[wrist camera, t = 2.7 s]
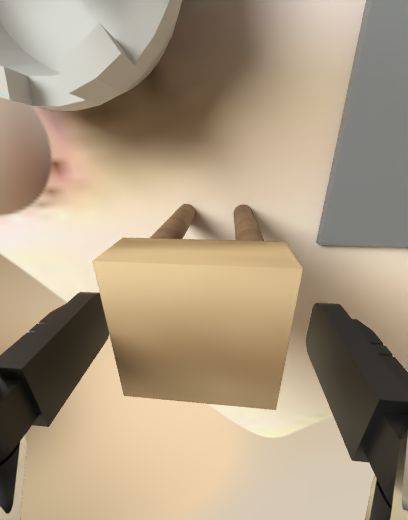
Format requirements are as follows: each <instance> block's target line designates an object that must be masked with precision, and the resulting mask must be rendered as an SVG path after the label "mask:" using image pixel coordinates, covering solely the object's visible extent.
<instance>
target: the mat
mask: <svg viewBox="0 0 408 520" xmlns="http://www.w3.org/2000/svg"><path fill="white" fill-rule="evenodd" d="M316 242H317V243H318V244H319V245H329V246H368V247H408V0H366V5H365V10H364V14H363V19H362V24H361V29H360V34H359V38H358V43H357V48H356V53H355V58H354V63H353V67H352V72H351V77H350V82H349V87H348V91H347V96H346V101H345V106H344V111H343V116H342V120H341V125H340V130H339V135H338V140H337V145H336V149H335V154H334V159H333V164H332V169H331V173H330V178H329V183H328V188H327V193H326V198H325V202H324V207H323V212H322V217H321V222H320V227H319V231H318V236H317V241H316Z"/></svg>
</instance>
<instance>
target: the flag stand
mask: <svg viewBox="0 0 408 520" xmlns="http://www.w3.org/2000/svg"><path fill="white" fill-rule="evenodd" d="M181 4H182V0H0V97H1V98H5V99H9V100H13V101H16V102H21V103H25V104H28V105H32V106H36V107H40V108H43V109H47V110H52V111H78V110H83V109H87V108H91V107H95V106H100V105H102V104H103V103H105V102H107V101H109V100H111V99H113V98H115V97H117V96H119V95H121V94H123V93H125V92H127V91H129V90H131V89H133V88H134V87H136V86H137V85H138V84H139V83H140V82H141V81H142V80H144V79H145V78H146V77H147V76H148V75H149V74H150V73H151V71H152V70H153V69H154V67H155V66H156V65H157V63H158V62H159V61H160V59H161V58H162V56H163V54H164V52H165V50H166V48H167V46H168V44H169V42H170V39H171V37H172V35H173V32H174V29H175V25H176V22H177V18H178V15H179V11H180V7H181Z"/></svg>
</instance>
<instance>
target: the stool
mask: <svg viewBox="0 0 408 520" xmlns="http://www.w3.org/2000/svg"><path fill="white" fill-rule="evenodd" d="M195 214H196V213H195V209H194V207H193V206H191V205H189V204H184V205H182V206H181V207H180V208H179V209H178V210H177V211H176V212H175V213H174V214H173V215H172V216H171V217H170V218H169V219H168V220H167V221H166V222H165V223H164V224H163V225H162V226H161V227H160V228H159V229H158V230H157V231H156V232H155V233H154V234H153V235H152V236H151V237H150V238H122V239H121V240H119V241H118V242H117V243H116V244H114V245H113V246H112V247H110V248H109V249H108V250H106V251H105V252H104V253H102V254H101V255H100V256H99V257H97V258H96V259H95V260H93V261H92V262H93V266H94V270H95V275H96V279H97V283H98V287H99V292H100V296H101V300H102V304H103V309H104V313H105V317H106V321H107V326H108V330H109V334H110V338H111V342H112V347H113V351H114V355H115V360H116V364H117V368H118V372H119V376H120V381H121V385H122V389H123V394H124V396H133V397H143V398H153V399H164V400H175V401H187V402H196V403H207V404H218V405H229V406H239V407H250V408H261V409H272V410H276V406H277V401H278V396H279V391H280V385H281V380H282V375H283V370H284V365H285V359H286V354H287V349H288V344H289V338H290V333H291V328H292V323H293V318H294V312H295V307H296V302H297V297H298V291H299V286H300V281H301V276H302V270H303V268H302V267H301V265H300V264H299V262H298V261H297V259H296V257H295V256H294V254H293V253H292V251H291V250H290V248H289V247H288V245H287V244H286V242H277V241H264V239H263V237H262V234H261V232H260V230H259V227H258V225H257V223H256V220H255V218H254V215H253V213H252V211H251V209H250V207H249V206H247V205H239V206H238V207H236V209H235V210H234V223H235V235H236V240H194V239H182V238H183V237H184V235H185V233H186V231H187V230H188V228H189V226H190V224H191V223H192V221H193V219H194V217H195Z"/></svg>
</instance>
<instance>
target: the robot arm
mask: <svg viewBox="0 0 408 520" xmlns="http://www.w3.org/2000/svg"><path fill="white" fill-rule="evenodd" d="M108 336H109V330H108V326H107V321H106V317H105V313H104V309H103V304H102V300H101V296H100V293H91V292H80V293H78V294H77V295H76V296H74V297H73V298H72V299H71V300H70V301H69V302H68V303H67V304H65V305H63V306H61V307H59V308H58V309H56V310H54V311H52V312H50V313H49V314H48V315H47V316H46V317H45V318H43V319H42V320H41V321H40V322H39V324H36V325H35V326H34V327H33V328H32V329H31V330H30V331H29V333H26V334H25V335H24V336H22V337H21V338H20V339H19V340H18V341H17V342H16V343H14V344H13V345H12V346H11V347H10V348H8V349H7V350H6V351H5V352H4V353H3V354H1V355H0V520H21V506H22V494H23V483H24V470H25V460H26V449H27V438H26V435H25V434H26V433H27V431H28V430H29V429H30V427H31V425H36V426H47V427H49V426H50V424H51V423H52V421H53V419H54V418H55V417H56V415H57V413H58V412H59V411H60V409H61V407H62V406H63V405H64V403H65V402H66V400H67V399H68V397H69V396H70V394H71V393H72V391H73V390H74V388H75V387H76V385H77V384H78V382H79V381H80V379H81V378H82V376H83V375H84V373H85V372H86V371H87V369H88V367H89V366H90V364H91V363H92V361H93V360H94V359H95V357H96V355H97V354H98V353H99V351H100V350H101V348H102V347H103V345H104V344H105V342H106V340H107V339H108ZM306 346H307V352H308V355H309V357H310V360H311V362H312V365H313V367H314V370H315V372H316V374H317V377H318V379H319V382H320V384H321V387H322V389H323V391H324V394H325V396H326V399H327V401H328V404H329V406H330V409H331V411H332V413H333V416H334V418H335V421H336V423H337V426H338V428H339V430H340V433H341V435H342V437H343V440H344V443H345V445H346V447H347V450H348V452H349V455H350V457H351V459H352V460H353V461H362V462H369V463H370V465H371V467H372V469H373V471H374V473H375V477H374V479H373V481H372V486H371V491H370V496H369V501H368V507H367V512H366V517H365V520H408V372H407V371H406V370H405V369H404V368H403V366H402V365H401V364H400V363H399V362H398V360H397V359H396V358H395V357H392V353H391V352H390V351H389V350H388V349H387V347H386V346H383V343H382V342H381V340H380V339H379V338H378V337H377V336H376V334H375V333H374V332H373V331H372V330H371V329H369V328H368V327H367V326H365V325H364V324H362V323H361V322H360V321H358V320H357V319H351V318H350V316H349V315H348V314H347V312H346V311H345V310H344V309H343V307H342V306H341V305H339V304H325V303H316V304H314V306H313V309H312V314H311V319H310V323H309V328H308V332H307V337H306Z"/></svg>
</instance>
